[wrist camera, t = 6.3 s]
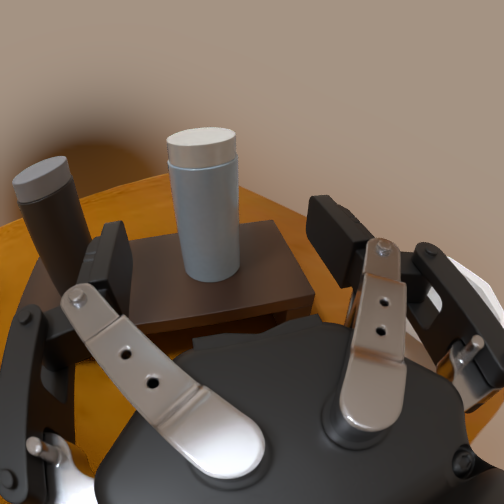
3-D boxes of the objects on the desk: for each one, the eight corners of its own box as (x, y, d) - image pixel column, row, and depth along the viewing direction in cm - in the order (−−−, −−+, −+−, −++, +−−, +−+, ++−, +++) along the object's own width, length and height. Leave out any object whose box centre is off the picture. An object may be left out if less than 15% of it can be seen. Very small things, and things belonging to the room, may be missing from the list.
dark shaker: (54, 305, 18) (0, 190, 12) (65, 269, 21) (27, 164, 15) (101, 299, 19) (54, 173, 13) (108, 262, 22) (75, 150, 16)
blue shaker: (186, 287, 20) (163, 150, 14) (182, 250, 24) (165, 131, 17) (246, 277, 21) (244, 141, 15) (234, 242, 24) (230, 124, 18)
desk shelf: (38, 370, 18) (7, 335, 15) (57, 292, 26) (38, 257, 23) (305, 334, 23) (315, 293, 20) (270, 259, 30) (272, 219, 27)
